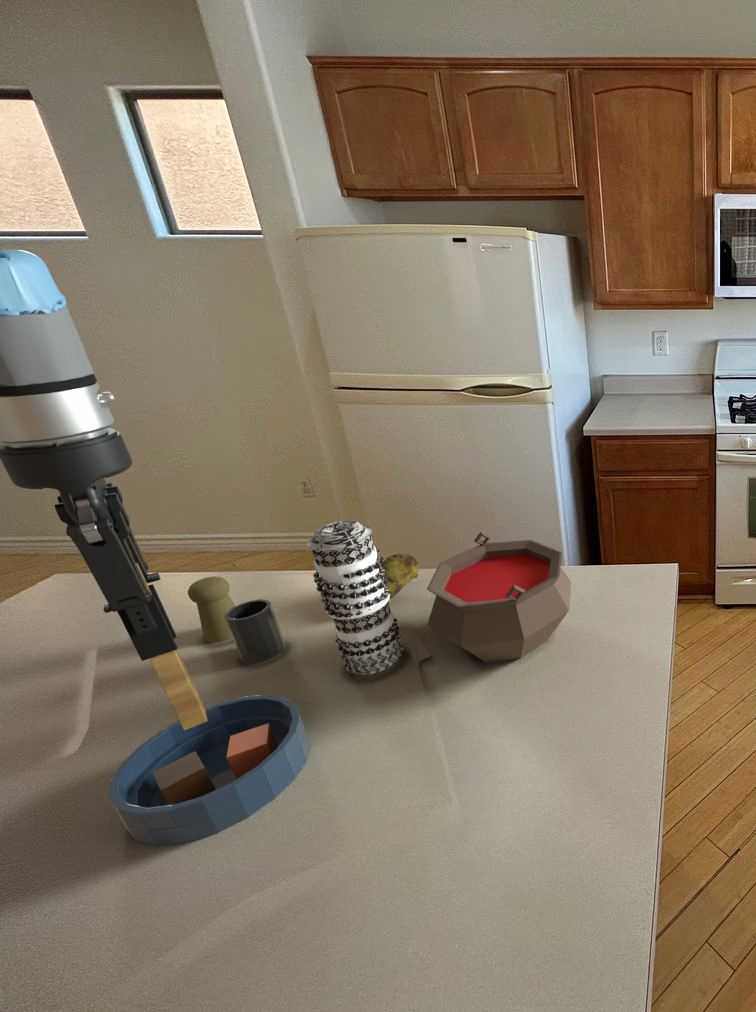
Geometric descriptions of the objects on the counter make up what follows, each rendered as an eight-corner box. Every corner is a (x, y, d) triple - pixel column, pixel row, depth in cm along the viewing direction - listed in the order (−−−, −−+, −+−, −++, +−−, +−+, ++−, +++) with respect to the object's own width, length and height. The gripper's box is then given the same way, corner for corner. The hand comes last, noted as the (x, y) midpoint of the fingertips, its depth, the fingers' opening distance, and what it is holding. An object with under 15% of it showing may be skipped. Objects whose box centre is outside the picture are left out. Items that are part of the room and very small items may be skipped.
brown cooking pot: (599, 648, 95) (592, 566, 89) (449, 705, 82) (428, 614, 76) (553, 585, 113) (544, 513, 107) (424, 624, 101) (405, 545, 94)
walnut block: (164, 796, 67) (151, 772, 66) (206, 773, 70) (195, 750, 69) (173, 814, 65) (160, 790, 63) (216, 790, 68) (205, 766, 66)
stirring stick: (183, 720, 63) (109, 569, 55) (206, 711, 64) (137, 562, 56) (184, 731, 61) (108, 577, 54) (207, 721, 63) (137, 569, 55)
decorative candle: (413, 640, 96) (380, 511, 86) (401, 676, 88) (364, 537, 78) (353, 650, 94) (313, 517, 84) (336, 687, 85) (289, 546, 76)
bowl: (131, 779, 70) (111, 744, 68) (298, 708, 81) (286, 676, 79) (128, 884, 59) (105, 846, 56) (324, 784, 70) (311, 749, 68)
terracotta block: (240, 758, 72) (230, 735, 71) (278, 745, 74) (269, 722, 73) (236, 780, 69) (226, 757, 68) (276, 766, 71) (266, 743, 70)
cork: (204, 650, 93) (180, 595, 89) (204, 633, 97) (181, 579, 93) (250, 635, 97) (229, 582, 92) (248, 619, 101) (227, 567, 97)
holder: (240, 654, 92) (222, 609, 89) (283, 638, 96) (268, 595, 93) (244, 671, 88) (225, 625, 85) (289, 654, 92) (273, 610, 89)
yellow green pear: (345, 604, 106) (334, 568, 103) (414, 578, 115) (406, 544, 112) (361, 622, 101) (350, 584, 98) (432, 592, 110) (424, 557, 107)
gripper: (115, 445, 47) (211, 665, 56) (120, 412, 57) (201, 604, 66) (-25, 466, 42) (105, 703, 51) (7, 425, 52) (111, 630, 61)
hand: (159, 647), depth 59 cm, fingers closed on stirring stick, 2 cm apart
